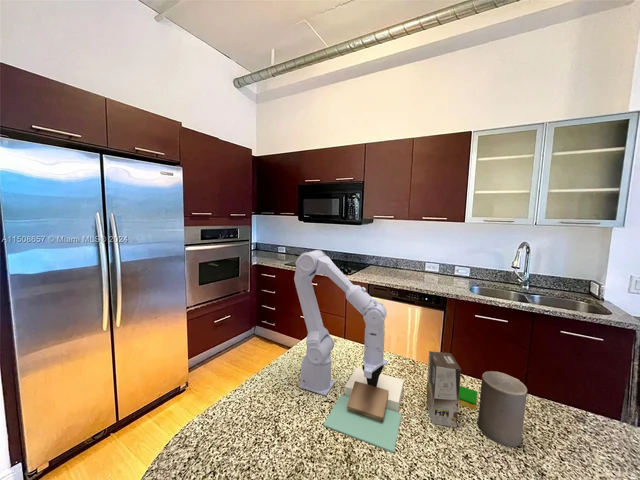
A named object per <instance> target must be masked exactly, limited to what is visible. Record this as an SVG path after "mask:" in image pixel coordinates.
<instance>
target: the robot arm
mask: <svg viewBox="0 0 640 480" xmlns="http://www.w3.org/2000/svg"><path fill="white" fill-rule="evenodd" d="M294 263H295V272H294V277H293V280H294V284H295V289H296V293H297V296H298V299H299V300H298V301H299V303H300V308H301V311H302V315H303V319H304V323H305V325H306V330H307V335H306V339H305V340H306V341H305V343H306V352H305V354H306V355H304V357H303V359H302V361H301V365H300V384H299V388H300V389H303V390H307V391H310V392H313V393H316V394H318V395H322V396H327V395H328V394H329V392H330V391H331V389H332V387H333V386H334V384H335V383H336V381H335V380H334V379H331V378H332V377H331V376H332V355H331V354H332V353H331V352H332V351H333V350H334V349H335V342H334V340H333V337H332V336H331V335H330V332H329V330H328V329H327V328H326V327H325V325H324V323H323V318H322V315H321V312H320V308H319V304H318V301H317V297H316V294H315V290H314V286H313V282H312V281H313V279H314V277H315V276H316V275H321V276H327V277H328V278H329V279H330V280H331V281H332V282H333V283H334V284H335V285H336V286H338V287H339V288H340V289H341V290H342V291H343V292H344V293H345V299H346V300H347V302H348V303H350V304H351V305H352V306H353V308H355V309H356V310H357V311H358V312H359V313H360V314H361V315H362V316H363V317H362V318H363V321H364V323H365V328H364V347H363V350H364V351H363V358H362V361H363V364H362V369H363V371H364V377H366V379H367V384H368V385H371V386H375V387H377V383H378V379H379V376H380V374H382V372H383V370H384V367H386V366H387V365H388V360H387V359H384V356H385V355H384V354H385V353H384V352H385V335H386V333H385V332H386V331H385V328H386V327H385V319H386V318H387V309H386V307H385V305H384V304H383V303H382V302H378V300H377V299H374V298H373V297H372V296H371V295H370V294H369V293H368V292H367V289H366V288H365V287H364V286H362V287H361V285H359V284H353V283H352V281H350V280H349V278H348V277H347V276H346V275H345V274H344V273H343V272H342V271H341V269H339V268H338V266H336V264H335V263H334V262H333V261H332V259H331V258H330V256H328V255H326V253H325V252H324V251H322V250H321V249H315V250H312V251H309V252H302V253H300V255H299V256H298V258H297V259H296V261H295V262H294Z"/></svg>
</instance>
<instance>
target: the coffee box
mask: <svg viewBox="0 0 640 480" xmlns="http://www.w3.org/2000/svg"><path fill="white" fill-rule="evenodd" d="M427 365H428V366H427V384H426V385H427V392H426V406H427V409H428V412H429V415H430V418H431V419H430V420H431V422H432V424H434V425H441V426H444V427H445V426H446V427H452V428H457V427H458V418H459V417H458V415H459V404H458V403H459V390H460V386H461V376H462V375H461V373H462V369H461V367H460V365H459V363H458V362H457V361H456V359H455V357H454V356H453V354H452V353H449V352H441V351H428V364H427Z"/></svg>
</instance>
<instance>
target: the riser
mask: <svg viewBox="0 0 640 480" xmlns="http://www.w3.org/2000/svg"><path fill="white" fill-rule="evenodd" d="M355 381H357V382H361V383H364V384H367V379H366V377H364V371H363V368H360V367H355V369H354V370H353V372H352V374H351V376H350V377H349V379H348V381H347V383H346V384H345V385H344V396H347V397H350V395H351V392H352V389H353V386H354V383H355ZM404 383H405V379H402V378H398V377H394V376H390V375H388V374H383V373H381V374H380V376H379V379H378V383H377V387H378V388H382V389H385V390H389V396H388V401H387V406H386V409H388V410H392V411H395V412H398V413H399V410H400V407H401V400H402V397H403V393H404V385H405V384H404Z"/></svg>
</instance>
